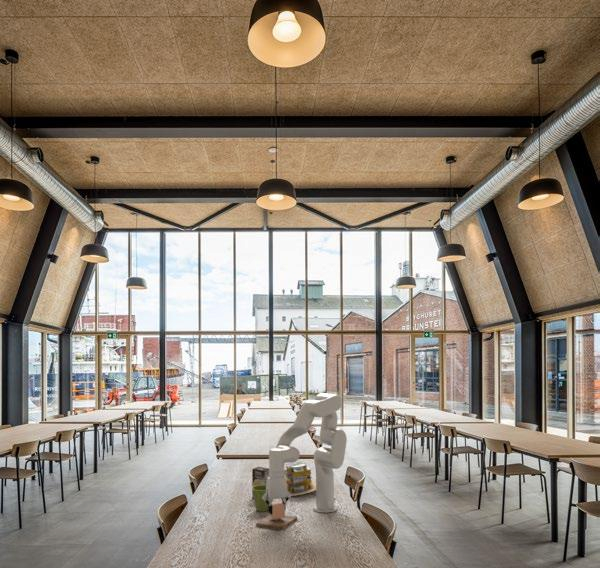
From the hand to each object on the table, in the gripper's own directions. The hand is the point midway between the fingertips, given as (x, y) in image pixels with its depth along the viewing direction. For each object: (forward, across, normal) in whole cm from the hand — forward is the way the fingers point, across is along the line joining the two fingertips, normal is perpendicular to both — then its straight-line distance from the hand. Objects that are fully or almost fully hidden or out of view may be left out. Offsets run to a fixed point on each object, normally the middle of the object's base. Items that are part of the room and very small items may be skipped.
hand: (276, 512), depth 244 cm
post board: (+5, 0, 0) cm, 5 cm away
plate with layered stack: (+5, -32, -45) cm, 55 cm away
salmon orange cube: (+2, 0, 0) cm, 2 cm away
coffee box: (+5, -7, -43) cm, 44 cm away
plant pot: (+5, -1, -23) cm, 23 cm away
